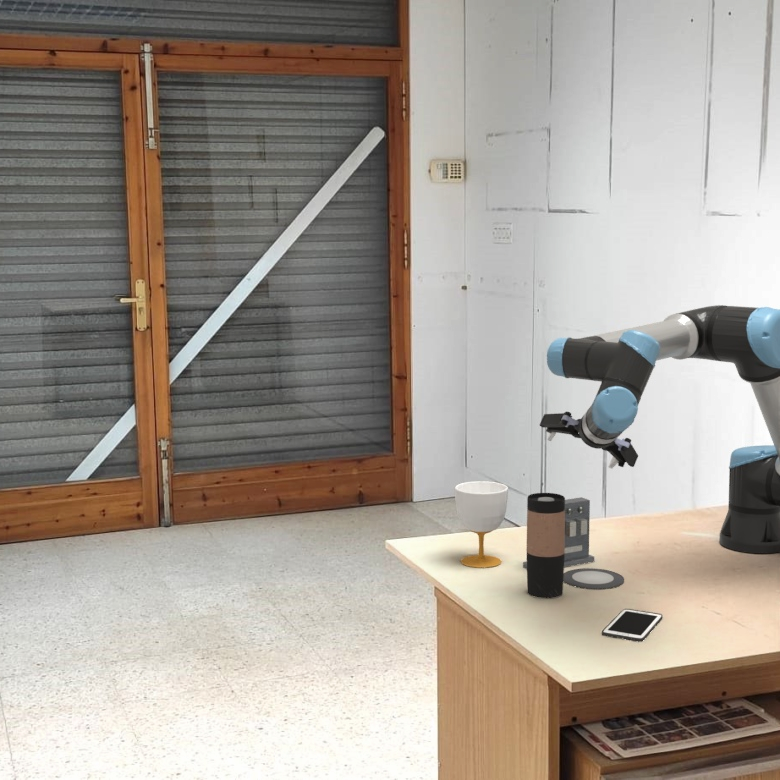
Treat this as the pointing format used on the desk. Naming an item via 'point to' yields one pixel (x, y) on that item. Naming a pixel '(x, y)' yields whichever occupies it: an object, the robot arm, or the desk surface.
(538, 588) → the travel mug
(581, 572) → the pad
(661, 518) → the desk surface
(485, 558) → the cup
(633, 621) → the cell phone
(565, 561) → the breaker panel
